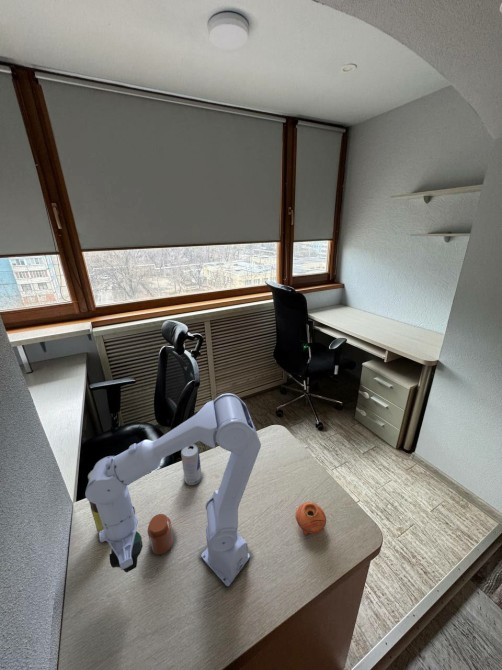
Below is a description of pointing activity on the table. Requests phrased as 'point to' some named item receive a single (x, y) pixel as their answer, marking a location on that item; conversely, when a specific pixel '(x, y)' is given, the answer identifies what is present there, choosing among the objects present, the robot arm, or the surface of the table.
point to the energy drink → (191, 464)
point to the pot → (310, 518)
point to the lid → (135, 540)
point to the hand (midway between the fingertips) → (129, 553)
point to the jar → (160, 534)
